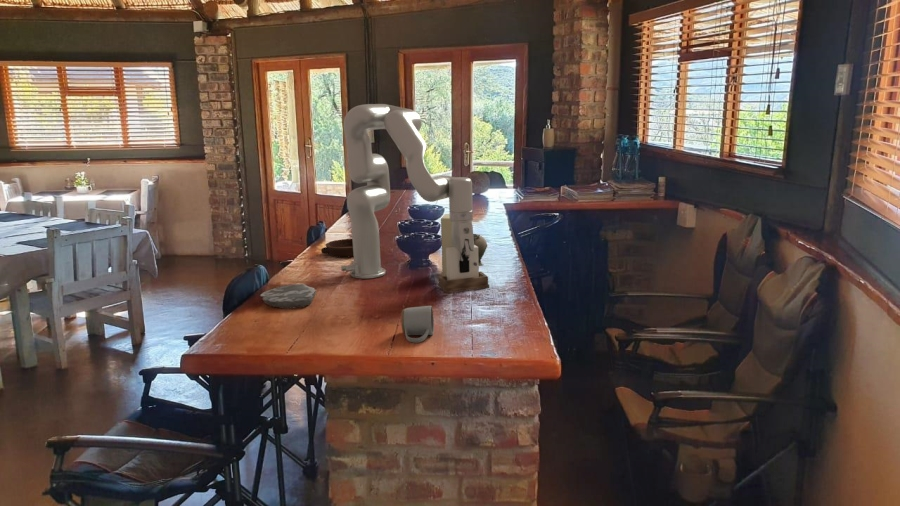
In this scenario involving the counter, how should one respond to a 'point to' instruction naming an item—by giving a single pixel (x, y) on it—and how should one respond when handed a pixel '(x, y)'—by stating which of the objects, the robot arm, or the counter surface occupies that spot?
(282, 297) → the brain slice
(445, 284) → the brown wooden tray
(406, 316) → the ceramic mug
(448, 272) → the rectangular block
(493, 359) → the counter surface
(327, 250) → the dish
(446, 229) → the toy refrigerator
